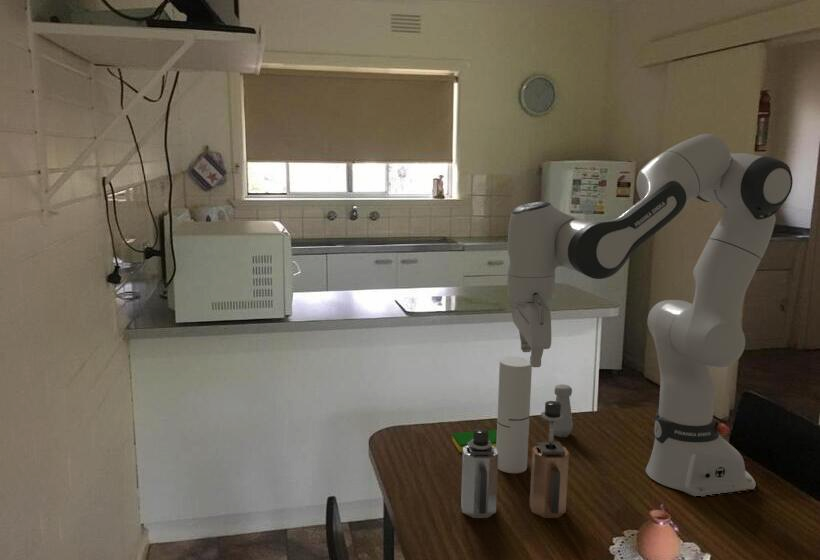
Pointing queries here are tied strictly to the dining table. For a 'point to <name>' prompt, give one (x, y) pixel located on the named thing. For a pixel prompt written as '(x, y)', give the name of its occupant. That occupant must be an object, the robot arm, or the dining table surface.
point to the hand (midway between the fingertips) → (530, 358)
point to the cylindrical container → (513, 414)
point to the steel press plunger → (480, 440)
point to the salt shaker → (563, 411)
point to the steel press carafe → (479, 482)
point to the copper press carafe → (549, 480)
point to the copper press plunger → (552, 418)
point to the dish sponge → (465, 437)
